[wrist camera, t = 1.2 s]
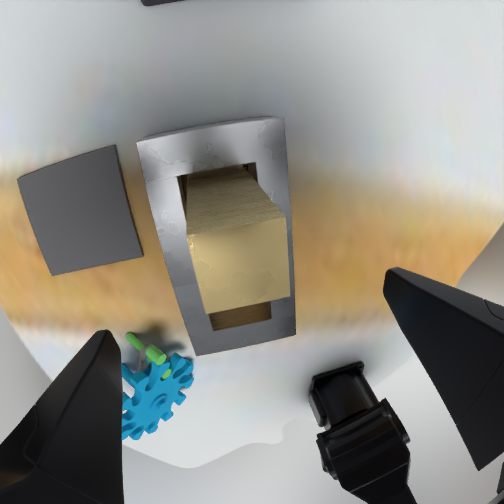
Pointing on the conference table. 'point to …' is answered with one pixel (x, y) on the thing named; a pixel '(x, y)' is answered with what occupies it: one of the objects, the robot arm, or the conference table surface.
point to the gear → (152, 388)
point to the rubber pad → (81, 212)
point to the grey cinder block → (174, 221)
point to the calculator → (157, 2)
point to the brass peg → (235, 239)
